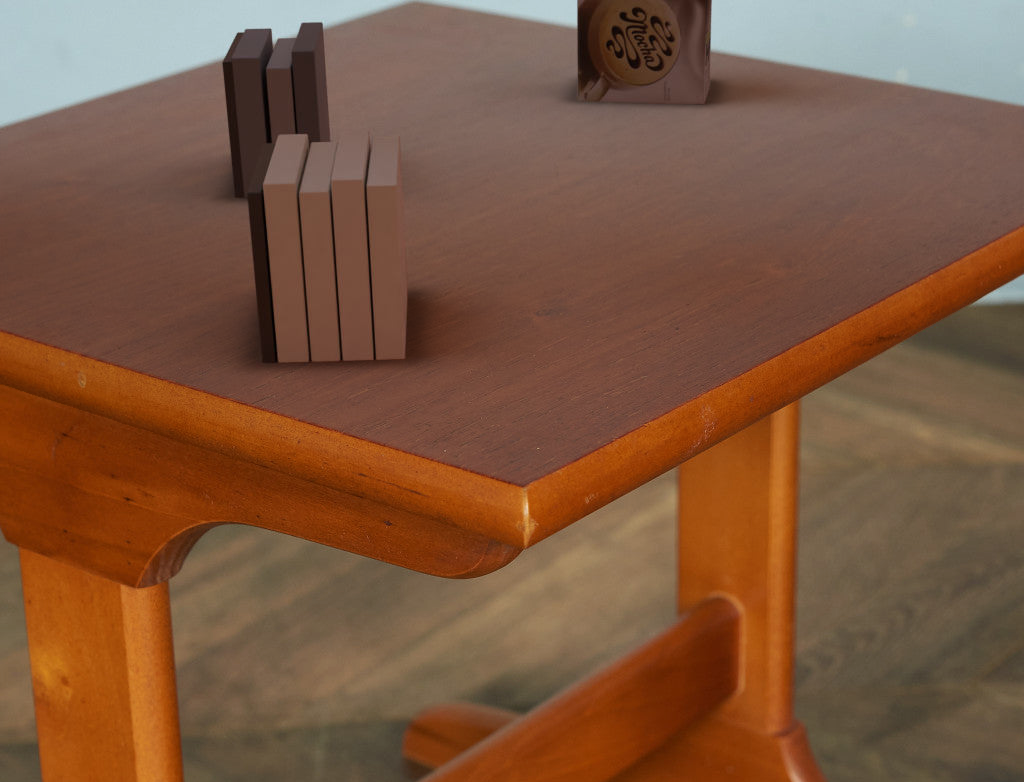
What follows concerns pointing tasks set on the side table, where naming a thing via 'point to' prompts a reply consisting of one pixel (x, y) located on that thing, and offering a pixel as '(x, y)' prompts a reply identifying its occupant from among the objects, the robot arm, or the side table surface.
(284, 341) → the white books
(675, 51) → the coffee box
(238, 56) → the grey books
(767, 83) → the side table surface
